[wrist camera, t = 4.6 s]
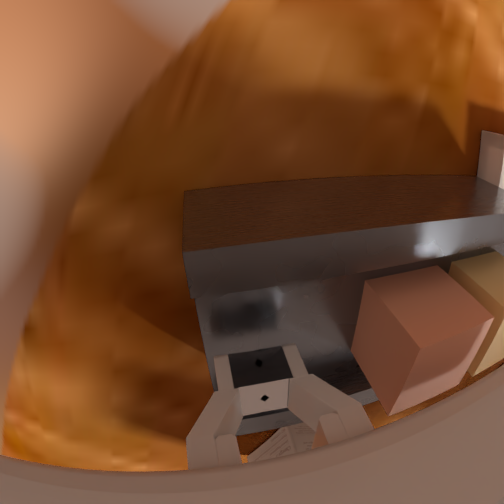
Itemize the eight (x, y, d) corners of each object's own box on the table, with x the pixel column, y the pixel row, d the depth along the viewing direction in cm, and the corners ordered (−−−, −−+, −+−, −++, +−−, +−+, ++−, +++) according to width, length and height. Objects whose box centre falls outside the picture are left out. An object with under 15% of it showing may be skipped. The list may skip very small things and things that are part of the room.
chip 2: (437, 265, 12) (494, 317, 9) (416, 331, 14) (458, 384, 11) (365, 280, 12) (420, 348, 8) (350, 350, 14) (387, 416, 10)
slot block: (474, 175, 15) (540, 209, 10) (442, 305, 20) (485, 352, 15) (184, 191, 13) (182, 252, 8) (211, 357, 18) (223, 437, 13)
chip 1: (496, 250, 13) (545, 289, 10) (475, 309, 15) (515, 350, 11) (451, 261, 12) (507, 310, 9) (430, 326, 14) (472, 377, 11)
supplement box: (285, 417, 23) (332, 555, 12) (348, 421, 25) (397, 530, 14) (243, 455, 25) (271, 570, 14) (303, 457, 28) (337, 554, 17)
